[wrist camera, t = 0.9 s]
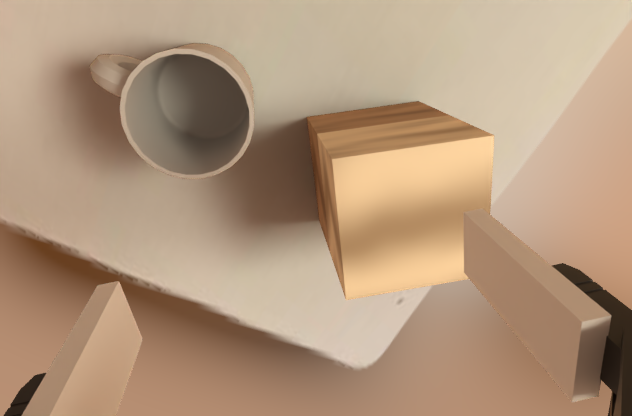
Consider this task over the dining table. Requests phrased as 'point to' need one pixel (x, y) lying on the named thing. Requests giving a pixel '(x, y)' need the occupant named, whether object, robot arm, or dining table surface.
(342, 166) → the beech block
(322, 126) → the walnut block
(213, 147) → the cup
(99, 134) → the dining table surface
